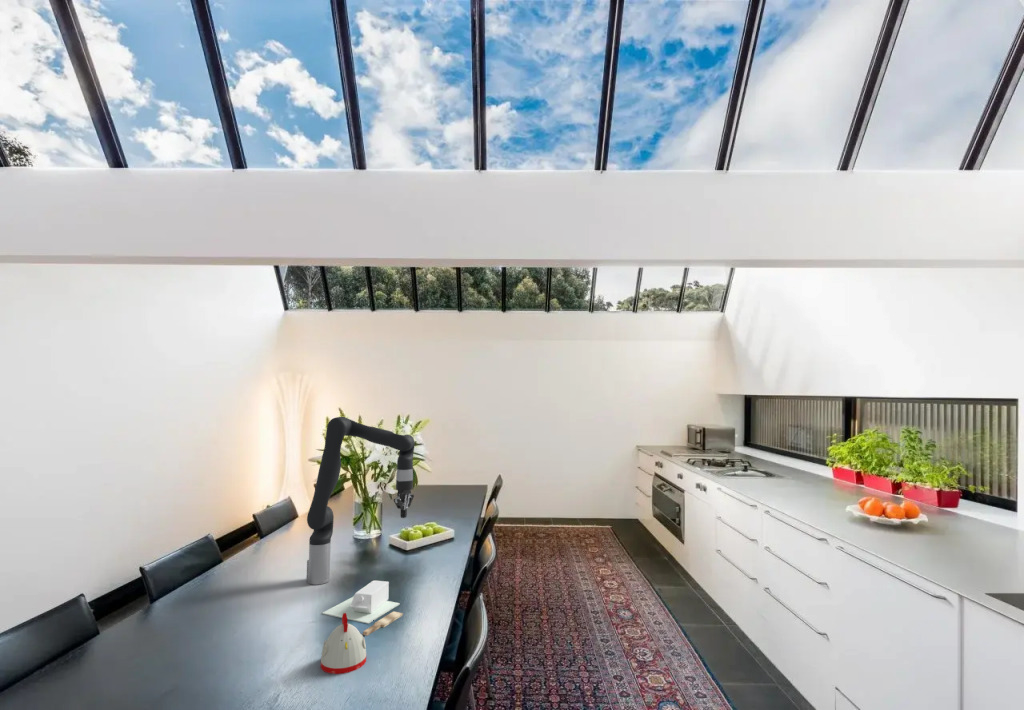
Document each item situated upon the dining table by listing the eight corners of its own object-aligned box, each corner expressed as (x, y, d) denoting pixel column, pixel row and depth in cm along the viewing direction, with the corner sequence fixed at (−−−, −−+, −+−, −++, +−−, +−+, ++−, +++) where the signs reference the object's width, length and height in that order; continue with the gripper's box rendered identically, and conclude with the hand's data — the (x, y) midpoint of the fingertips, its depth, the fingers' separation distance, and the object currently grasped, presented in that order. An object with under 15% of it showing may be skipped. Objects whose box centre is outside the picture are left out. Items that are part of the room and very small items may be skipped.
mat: (322, 613, 207) (322, 612, 207) (356, 595, 225) (356, 594, 225) (368, 623, 198) (368, 622, 198) (399, 604, 216) (399, 603, 216)
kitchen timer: (322, 677, 161) (323, 626, 162) (319, 656, 173) (320, 609, 174) (369, 668, 166) (370, 618, 167) (363, 648, 179) (364, 603, 180)
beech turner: (369, 636, 188) (369, 633, 188) (359, 634, 189) (359, 630, 189) (402, 615, 206) (403, 612, 206) (393, 613, 208) (393, 610, 208)
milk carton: (388, 599, 220) (365, 617, 202) (373, 597, 222) (349, 616, 204) (389, 581, 221) (366, 598, 202) (373, 580, 223) (349, 596, 204)
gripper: (406, 476, 251) (405, 513, 249) (388, 480, 239) (387, 519, 237) (419, 477, 248) (418, 515, 246) (402, 481, 236) (401, 521, 234)
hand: (403, 517), depth 242 cm, fingers closed
